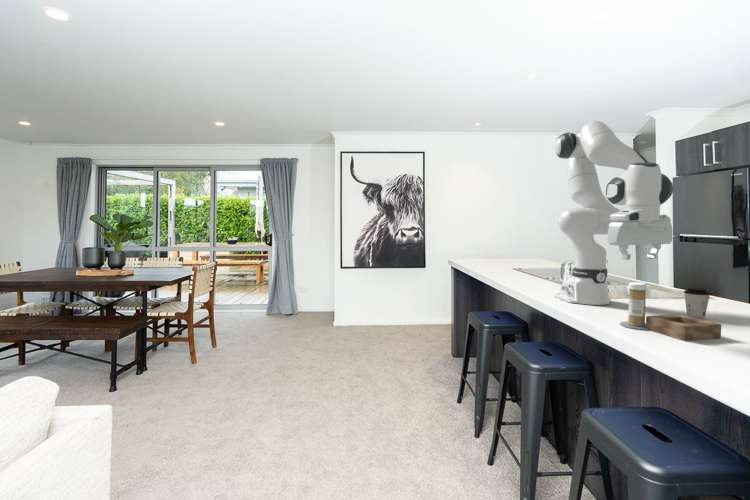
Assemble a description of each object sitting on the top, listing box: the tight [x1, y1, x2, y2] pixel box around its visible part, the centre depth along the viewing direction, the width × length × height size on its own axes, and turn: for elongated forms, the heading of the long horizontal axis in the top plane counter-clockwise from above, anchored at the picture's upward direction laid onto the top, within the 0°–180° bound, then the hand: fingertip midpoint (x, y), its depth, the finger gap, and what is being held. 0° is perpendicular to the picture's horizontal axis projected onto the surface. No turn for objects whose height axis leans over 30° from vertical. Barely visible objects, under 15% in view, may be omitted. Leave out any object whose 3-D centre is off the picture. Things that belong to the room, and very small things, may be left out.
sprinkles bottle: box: [627, 281, 647, 327], centre depth 115 cm, size 5×5×14 cm
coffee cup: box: [683, 287, 711, 320], centre depth 124 cm, size 7×7×10 cm
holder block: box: [645, 313, 722, 342], centre depth 107 cm, size 12×12×4 cm
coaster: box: [619, 320, 651, 331], centre depth 115 cm, size 9×9×1 cm
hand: (639, 259), depth 114 cm, fingers open, 8 cm apart
